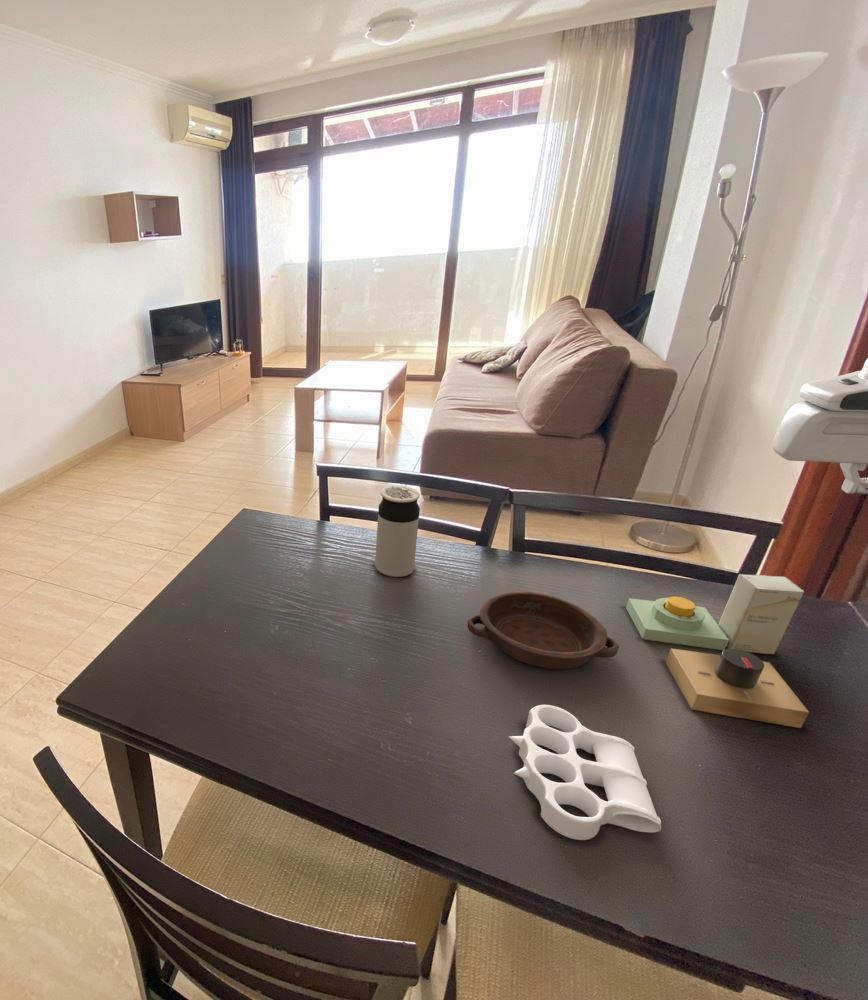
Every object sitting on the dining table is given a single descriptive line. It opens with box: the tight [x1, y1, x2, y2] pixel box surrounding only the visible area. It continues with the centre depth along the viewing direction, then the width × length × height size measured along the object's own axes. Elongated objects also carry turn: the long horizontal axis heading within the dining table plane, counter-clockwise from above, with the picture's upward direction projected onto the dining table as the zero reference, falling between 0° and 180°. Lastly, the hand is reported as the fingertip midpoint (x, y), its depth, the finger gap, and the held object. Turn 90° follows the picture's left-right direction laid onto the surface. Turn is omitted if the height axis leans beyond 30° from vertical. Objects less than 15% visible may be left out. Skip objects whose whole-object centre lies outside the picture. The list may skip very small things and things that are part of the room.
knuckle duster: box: [508, 704, 662, 841], centre depth 69 cm, size 3×18×15 cm
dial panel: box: [665, 648, 810, 729], centre depth 79 cm, size 12×10×3 cm
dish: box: [466, 590, 620, 670], centre depth 91 cm, size 18×22×5 cm
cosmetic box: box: [717, 573, 805, 655], centre depth 86 cm, size 6×4×12 cm
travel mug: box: [374, 485, 421, 578], centre depth 113 cm, size 8×8×18 cm
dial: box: [715, 648, 764, 688], centre depth 78 cm, size 4×4×4 cm
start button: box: [665, 596, 696, 617], centre depth 91 cm, size 4×4×2 cm
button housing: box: [625, 597, 729, 651], centre depth 92 cm, size 11×9×4 cm
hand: (858, 492), depth 72 cm, fingers closed
